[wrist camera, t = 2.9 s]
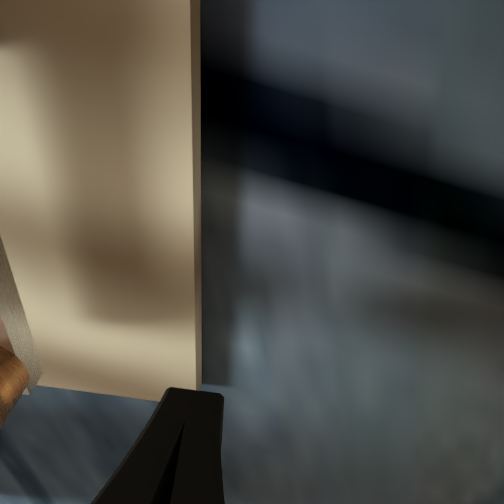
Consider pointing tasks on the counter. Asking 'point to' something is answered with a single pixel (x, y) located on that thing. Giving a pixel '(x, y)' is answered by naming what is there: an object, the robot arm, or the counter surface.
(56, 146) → the door board
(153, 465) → the robot arm
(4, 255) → the bar
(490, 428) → the counter surface
